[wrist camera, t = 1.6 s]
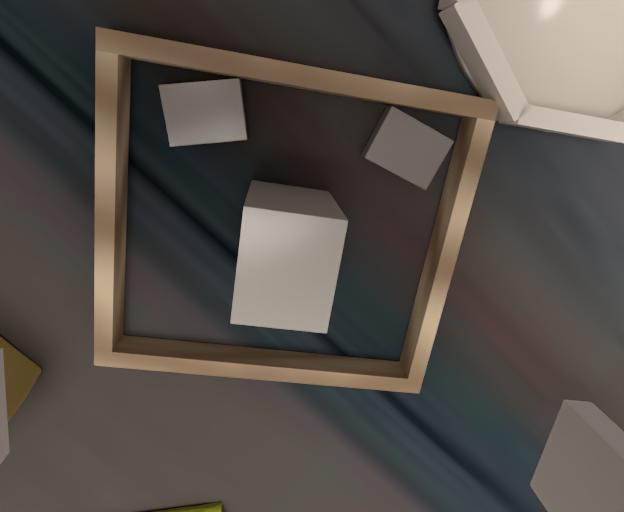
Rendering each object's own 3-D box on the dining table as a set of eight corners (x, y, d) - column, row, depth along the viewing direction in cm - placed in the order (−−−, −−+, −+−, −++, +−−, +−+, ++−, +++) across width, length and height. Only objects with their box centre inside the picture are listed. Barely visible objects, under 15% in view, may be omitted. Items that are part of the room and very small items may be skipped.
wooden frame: (111, 33, 22) (95, 26, 20) (483, 101, 24) (500, 101, 22) (106, 347, 27) (93, 365, 25) (409, 375, 30) (419, 393, 28)
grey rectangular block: (384, 106, 24) (392, 105, 23) (443, 139, 25) (454, 141, 24) (359, 154, 25) (364, 157, 24) (416, 185, 26) (425, 190, 24)
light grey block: (165, 86, 23) (158, 85, 21) (241, 80, 23) (238, 78, 22) (176, 144, 24) (170, 146, 22) (248, 137, 24) (247, 139, 23)
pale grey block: (251, 180, 25) (243, 206, 18) (328, 191, 25) (348, 220, 19) (241, 269, 26) (230, 323, 20) (313, 278, 27) (326, 333, 20)
